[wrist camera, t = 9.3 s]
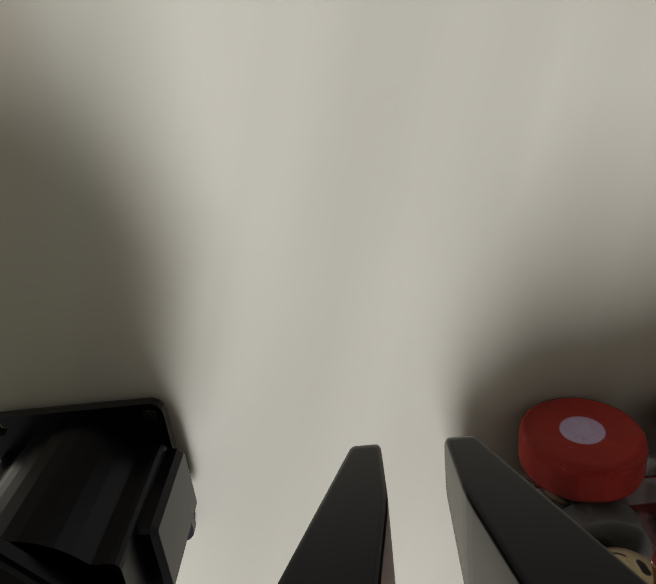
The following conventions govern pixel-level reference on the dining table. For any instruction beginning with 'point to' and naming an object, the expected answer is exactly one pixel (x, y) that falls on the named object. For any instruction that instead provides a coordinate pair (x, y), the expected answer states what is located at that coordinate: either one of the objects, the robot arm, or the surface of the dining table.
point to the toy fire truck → (595, 474)
